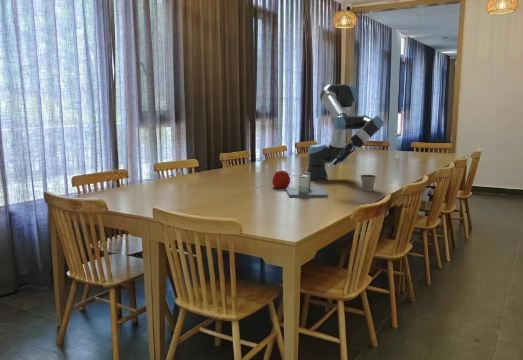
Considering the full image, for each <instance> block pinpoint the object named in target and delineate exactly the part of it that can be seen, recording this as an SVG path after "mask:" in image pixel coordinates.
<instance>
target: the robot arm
mask: <svg viewBox="0 0 523 360" xmlns="http://www.w3.org/2000/svg"><path fill="white" fill-rule="evenodd" d="M319 97H320V102H321V103H322V105H324V106H325V107H326V108H327V110H328V111H329V113H330V114H331V116H332V118H333V128H332V137H331V141H329V142H328V143H329V144H328V145H326V144H325V143H318V144H312V145H310V146H309V147H308V159H307V160H308V161H307V164H308V166H307V170H306V172H310V173H311V174H310V181H325V180H328V178H329V177H328V176H329V175H328V173H327V168H329V170H330V171H332V170H333V169H334V168H335V167H336V166H338V164H343V163H345V162H346V161H347V160H348V158H349V155H351V154H352V153H353V152H355V150H356V148H358V149H359V148H360V149H361V148H362V147H363V146H364V145H365V143H367V142H369V141H370V139H371V138H372V137H373V136H374V135H375V134H377V132H378V131H379V130H381V128H382V127H383V126H384V125H385V122H384V121H383V120H382V118H381V117H380V116H379V115H377V114H374V115H373V116H372V117H370V116H368V115H364V114H361V115H358V116H357V115H353V116H351V115H349V114H350V109H351V108H353V104H355V103H356V102H357V100H358V91H357V89H356V87H355V85H353V84H347V83H344V84H343V83H340V84H339V83H337V84H335V83H332V84H330V83H329V84H328V85H326V86H324V87H323V88H322V90H321V91H320V95H319ZM347 130H357V131H356V132H355V134H354V135H352V136H351V137H350V141H351V142H349V143H346V135H347ZM326 164H328V165H327V168H326Z"/></svg>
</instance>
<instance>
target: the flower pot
mask: <svg viewBox="0 0 523 360" xmlns="http://www.w3.org/2000/svg"><path fill="white" fill-rule="evenodd" d="M359 176H360V179H361V186H362V191H365V192H371V191H372V192H373V191H374V189H375V182H376V178H377V175H374V174H361V175H359Z"/></svg>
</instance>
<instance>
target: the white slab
mask: <svg viewBox="0 0 523 360" xmlns="http://www.w3.org/2000/svg"><path fill="white" fill-rule="evenodd" d="M310 174H311V173H310V172H307V171H305V172H303V174H302V175H299V176H298V179H299V180H298V186H301V192H305V187H306V186H307V187H308V189H309V188H311V180H310Z"/></svg>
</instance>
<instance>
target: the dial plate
mask: <svg viewBox="0 0 523 360" xmlns="http://www.w3.org/2000/svg"><path fill="white" fill-rule="evenodd" d="M285 191H286V194H287V195H288V197H289V198H328V193H327V192H326V191H325V189H323V188H322V187H311V186H310V188H309V189H308V187H307V186H306V187H305V192H301V186H299V185H298V187H285Z"/></svg>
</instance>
